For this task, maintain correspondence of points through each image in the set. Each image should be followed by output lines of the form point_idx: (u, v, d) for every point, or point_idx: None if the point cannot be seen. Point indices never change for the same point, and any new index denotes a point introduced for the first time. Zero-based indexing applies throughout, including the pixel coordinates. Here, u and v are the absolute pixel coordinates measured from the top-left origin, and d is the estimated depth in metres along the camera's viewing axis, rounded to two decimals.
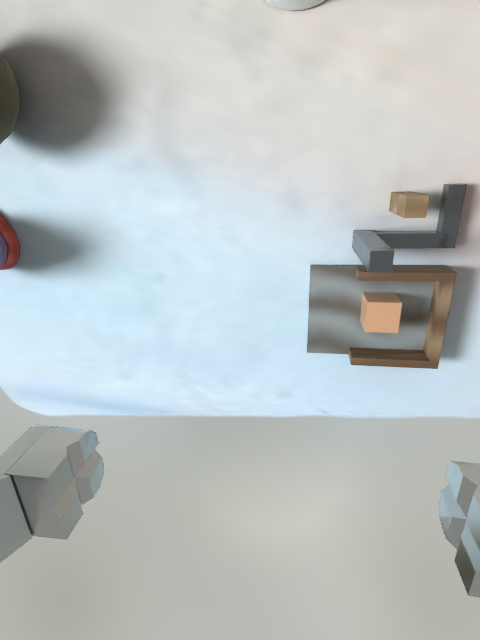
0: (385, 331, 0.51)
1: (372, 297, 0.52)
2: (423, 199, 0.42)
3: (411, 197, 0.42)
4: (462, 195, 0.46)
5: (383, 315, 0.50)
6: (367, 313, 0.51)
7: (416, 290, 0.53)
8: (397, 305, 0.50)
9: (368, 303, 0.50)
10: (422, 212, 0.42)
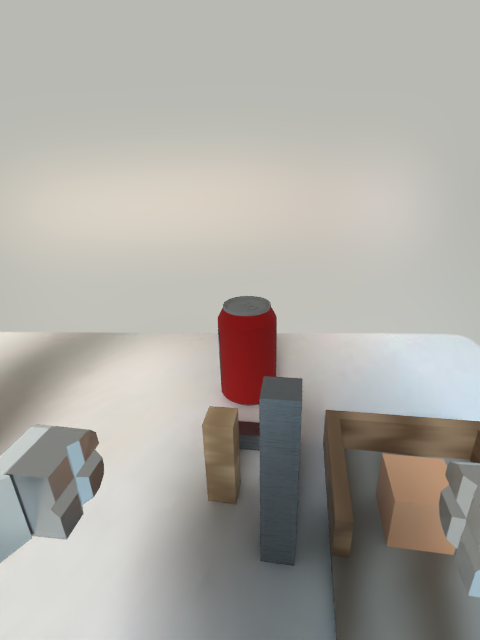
0: None
1: (388, 510, 0.26)
2: (212, 410, 0.30)
3: (205, 421, 0.29)
4: None
5: (415, 477, 0.26)
6: (420, 502, 0.25)
7: (365, 467, 0.33)
8: (388, 459, 0.28)
9: (397, 499, 0.25)
10: (229, 411, 0.30)
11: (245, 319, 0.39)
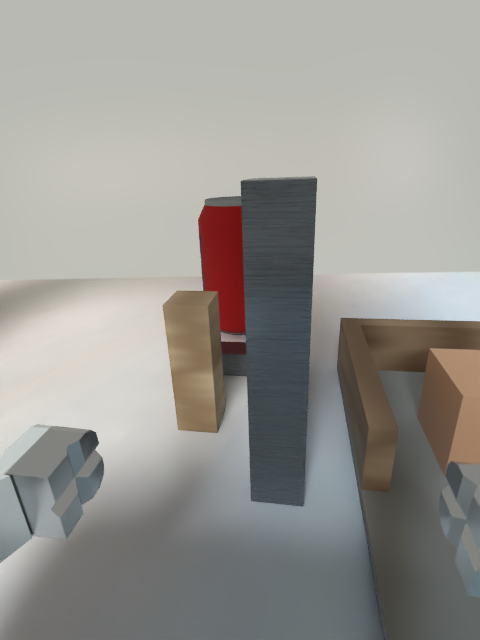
0: None
1: (446, 421, 0.17)
2: (180, 293, 0.20)
3: (168, 301, 0.19)
4: None
5: None
6: None
7: (398, 388, 0.24)
8: (440, 353, 0.19)
9: (466, 395, 0.16)
10: (205, 293, 0.20)
11: (232, 210, 0.30)
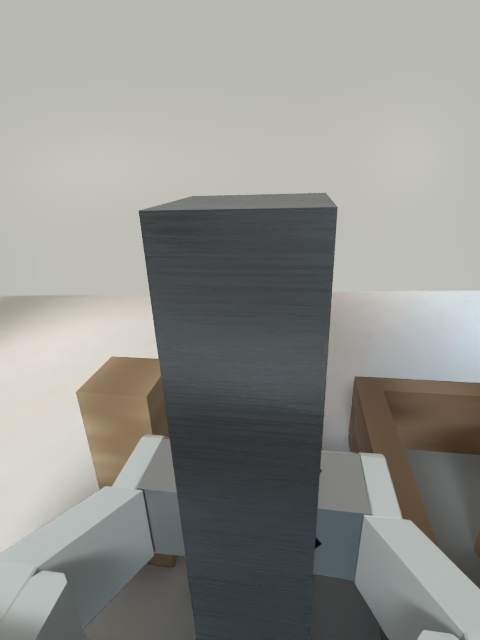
0: None
1: None
2: (113, 364, 0.13)
3: (88, 383, 0.12)
4: None
5: None
6: None
7: (438, 485, 0.17)
8: None
9: None
10: (152, 365, 0.13)
11: None
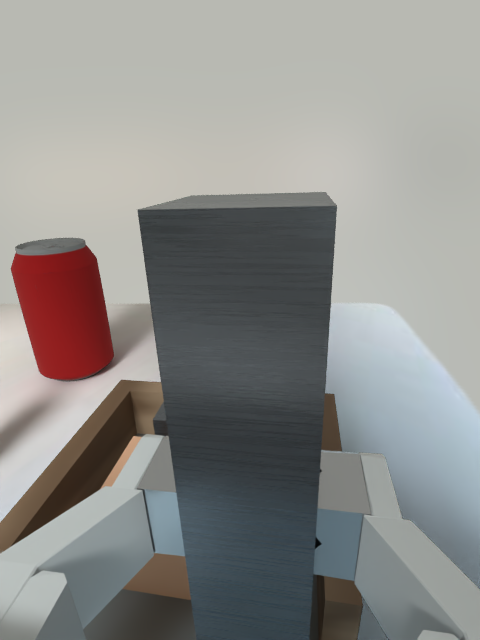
0: None
1: None
2: None
3: None
4: None
5: None
6: None
7: None
8: (135, 444, 0.18)
9: None
10: None
11: (33, 259, 0.28)
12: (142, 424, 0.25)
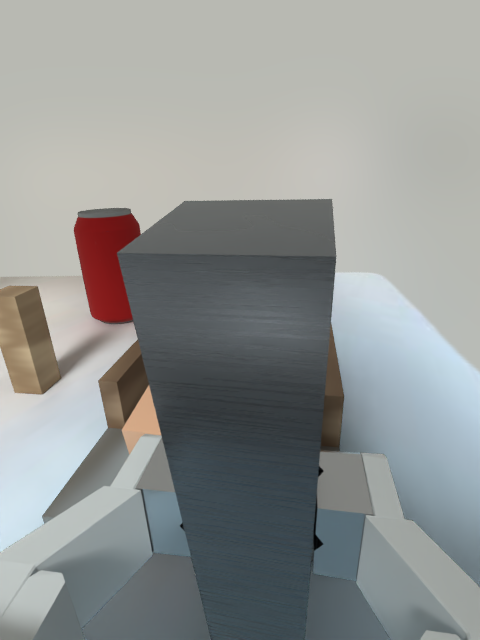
0: None
1: None
2: (8, 288, 0.27)
3: None
4: None
5: None
6: (157, 432, 0.16)
7: None
8: None
9: (126, 428, 0.16)
10: (26, 288, 0.27)
11: (93, 221, 0.36)
12: None
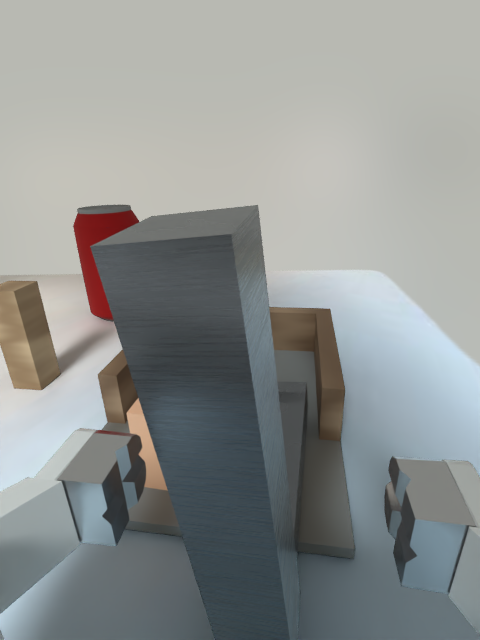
0: None
1: None
2: (7, 283, 0.27)
3: None
4: None
5: None
6: None
7: None
8: None
9: (131, 411, 0.17)
10: (25, 282, 0.27)
11: (93, 217, 0.36)
12: None
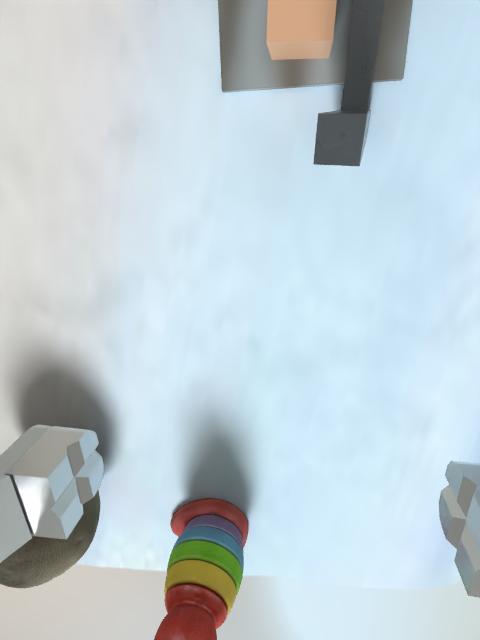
0: None
1: None
2: None
3: None
4: None
5: None
6: (290, 39, 0.25)
7: None
8: None
9: (269, 40, 0.25)
10: None
11: None
12: None
